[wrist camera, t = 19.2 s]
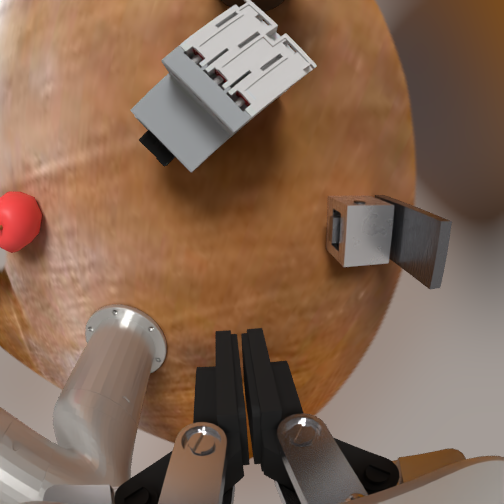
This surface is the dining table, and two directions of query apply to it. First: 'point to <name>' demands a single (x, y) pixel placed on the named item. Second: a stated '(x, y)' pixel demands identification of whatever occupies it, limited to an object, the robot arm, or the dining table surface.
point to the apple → (18, 220)
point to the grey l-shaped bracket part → (413, 241)
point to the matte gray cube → (361, 230)
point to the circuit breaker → (218, 85)
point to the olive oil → (261, 0)
